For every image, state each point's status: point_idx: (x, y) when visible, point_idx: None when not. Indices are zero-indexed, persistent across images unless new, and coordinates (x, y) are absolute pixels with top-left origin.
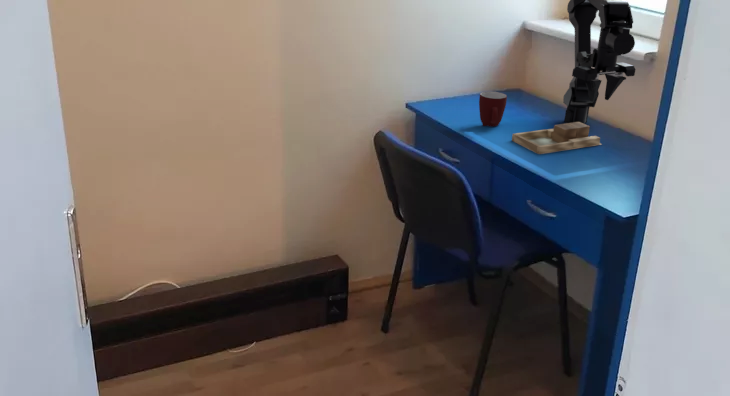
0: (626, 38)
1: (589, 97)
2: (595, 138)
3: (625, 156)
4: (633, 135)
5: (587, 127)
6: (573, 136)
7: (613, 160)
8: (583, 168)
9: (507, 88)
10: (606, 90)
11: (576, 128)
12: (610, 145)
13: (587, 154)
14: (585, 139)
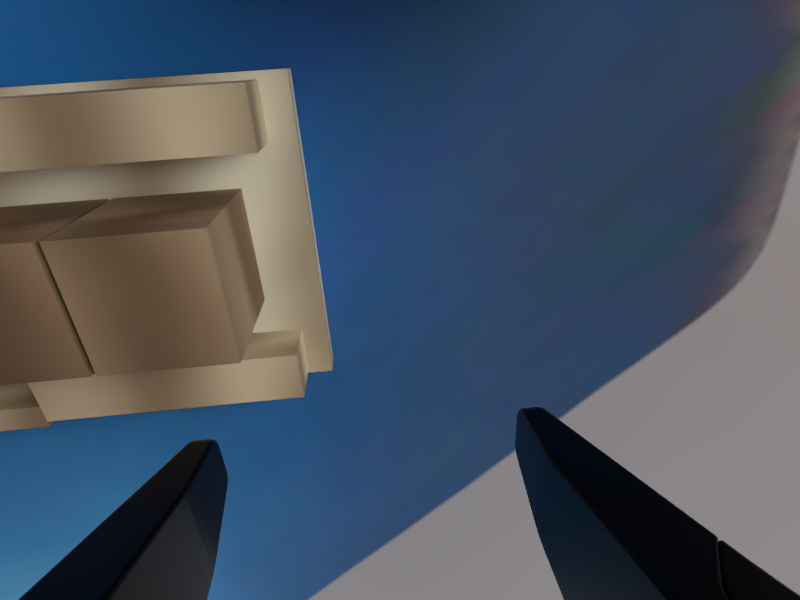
0: None
1: (151, 485)
2: (259, 399)
3: (373, 479)
4: (731, 217)
5: (217, 359)
6: None
7: (271, 506)
8: (51, 551)
9: None
10: (588, 531)
11: (83, 376)
12: (417, 337)
13: (173, 422)
14: (169, 401)
